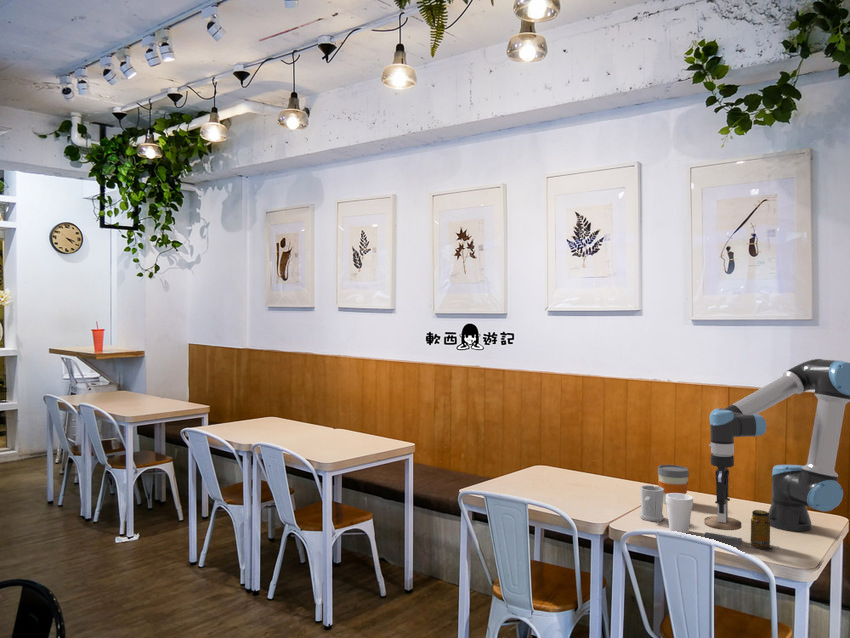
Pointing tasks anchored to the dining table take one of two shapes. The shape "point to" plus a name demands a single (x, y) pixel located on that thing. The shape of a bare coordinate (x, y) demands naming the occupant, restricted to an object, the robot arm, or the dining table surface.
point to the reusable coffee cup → (673, 479)
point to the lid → (729, 525)
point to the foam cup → (679, 511)
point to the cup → (651, 503)
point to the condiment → (761, 531)
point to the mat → (724, 539)
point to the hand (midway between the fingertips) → (722, 520)
